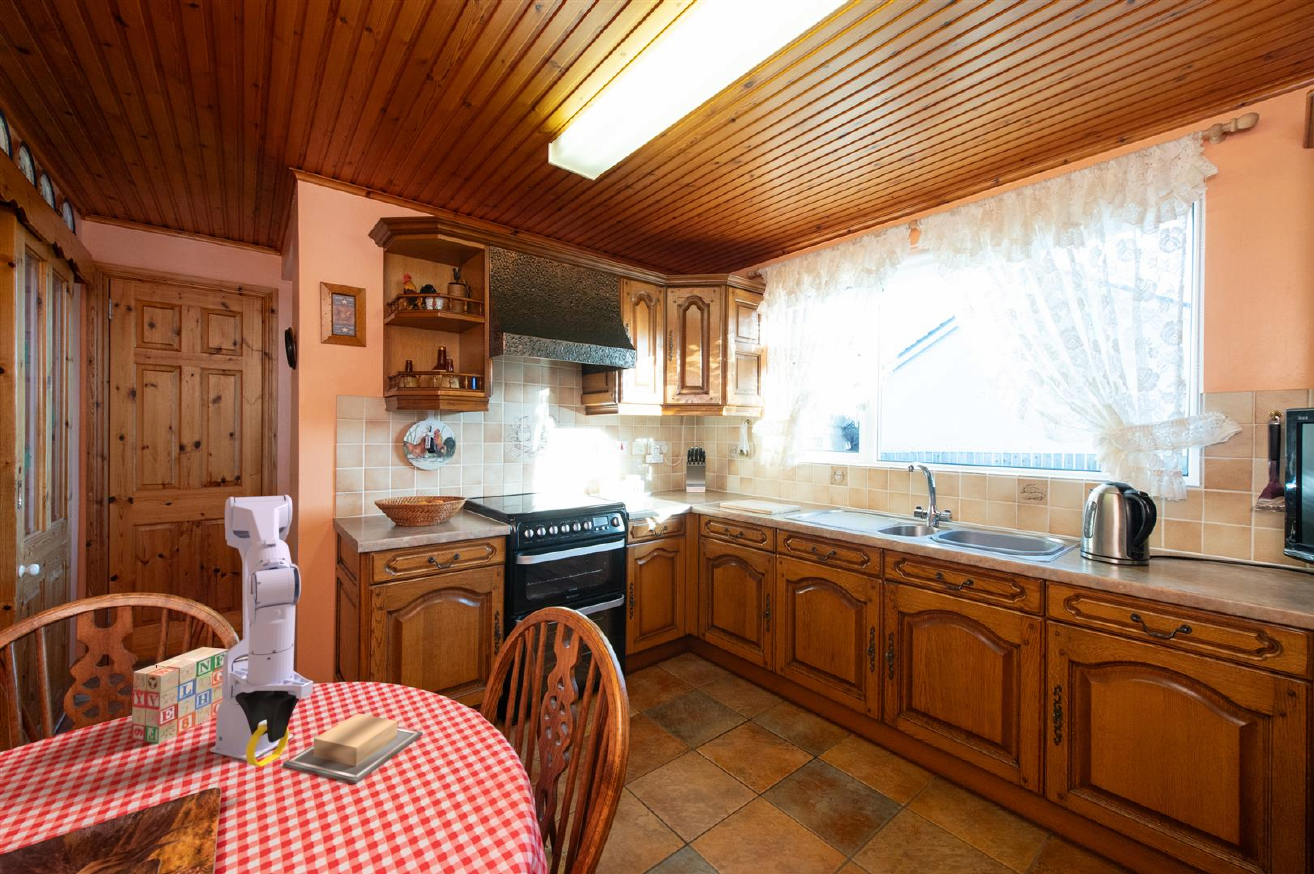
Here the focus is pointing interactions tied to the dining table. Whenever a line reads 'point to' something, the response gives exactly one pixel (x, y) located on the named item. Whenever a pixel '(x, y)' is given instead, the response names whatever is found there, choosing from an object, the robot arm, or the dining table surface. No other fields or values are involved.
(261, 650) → the robot arm
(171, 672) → the stack of blocks
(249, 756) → the watch
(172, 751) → the dining table surface
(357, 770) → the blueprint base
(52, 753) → the dining table surface
